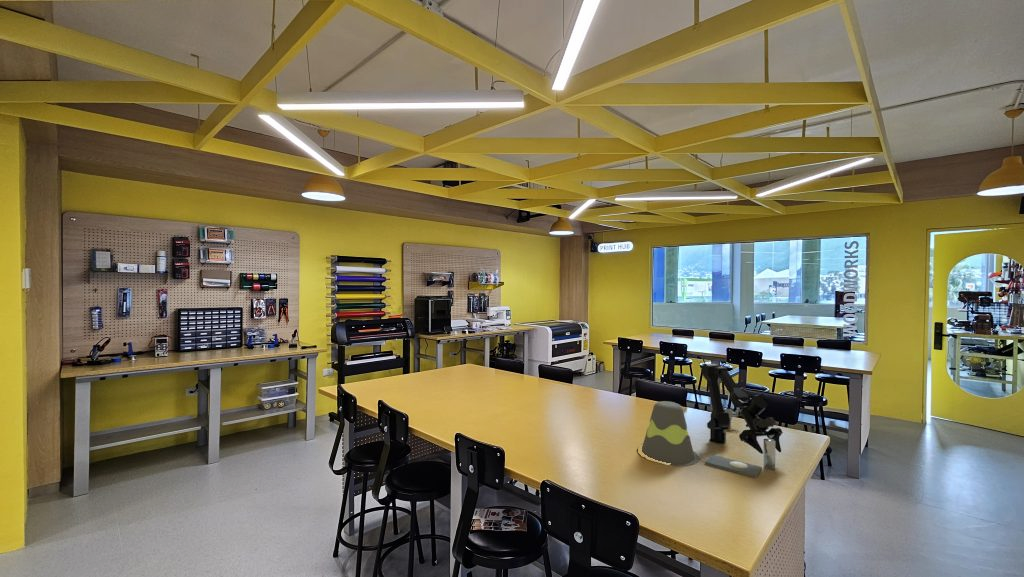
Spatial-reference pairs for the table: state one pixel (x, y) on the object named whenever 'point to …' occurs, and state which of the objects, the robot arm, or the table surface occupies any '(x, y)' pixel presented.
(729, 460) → the mat
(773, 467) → the metal pin
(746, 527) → the table surface
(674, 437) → the grey tapered cylinder
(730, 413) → the mechanical component
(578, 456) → the table surface
